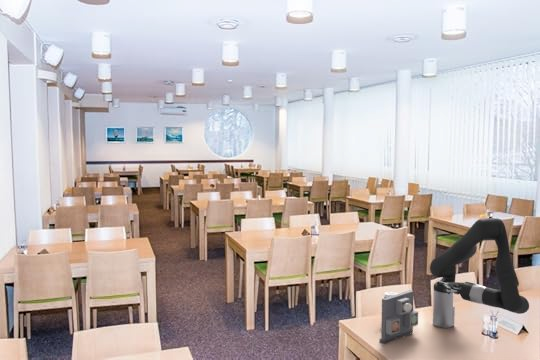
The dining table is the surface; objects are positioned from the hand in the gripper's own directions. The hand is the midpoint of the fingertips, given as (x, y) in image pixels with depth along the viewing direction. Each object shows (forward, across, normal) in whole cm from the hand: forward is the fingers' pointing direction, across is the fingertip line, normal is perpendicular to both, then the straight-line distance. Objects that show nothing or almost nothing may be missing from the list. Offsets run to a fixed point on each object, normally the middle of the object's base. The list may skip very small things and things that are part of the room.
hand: (437, 283), depth 212 cm
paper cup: (+31, -8, +28) cm, 43 cm away
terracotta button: (+13, +14, +22) cm, 29 cm away
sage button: (+13, 0, +22) cm, 25 cm away
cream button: (+11, +7, +14) cm, 19 cm away
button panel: (+14, +7, +28) cm, 32 cm away
